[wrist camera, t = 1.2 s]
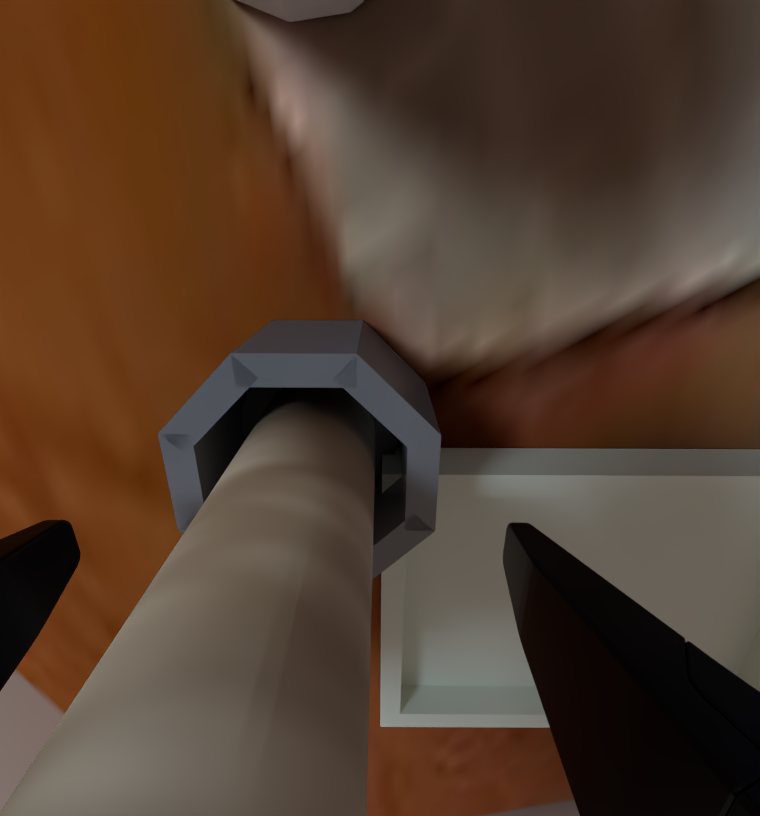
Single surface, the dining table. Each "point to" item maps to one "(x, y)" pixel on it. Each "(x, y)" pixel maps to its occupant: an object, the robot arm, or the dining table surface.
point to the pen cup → (313, 368)
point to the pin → (240, 644)
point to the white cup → (303, 8)
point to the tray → (583, 538)
